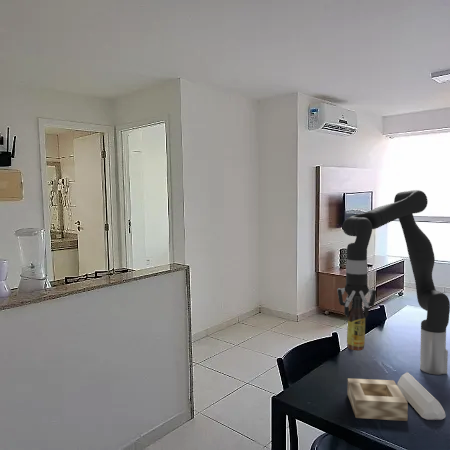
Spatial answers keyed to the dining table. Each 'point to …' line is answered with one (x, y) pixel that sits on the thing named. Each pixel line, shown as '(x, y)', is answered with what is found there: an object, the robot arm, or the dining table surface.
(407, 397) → the crystal
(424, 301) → the robot arm
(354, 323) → the sauce bottle
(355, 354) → the dining table surface
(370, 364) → the dining table surface
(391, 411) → the socket block
